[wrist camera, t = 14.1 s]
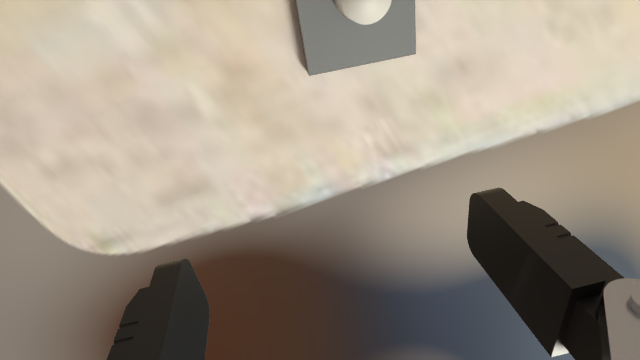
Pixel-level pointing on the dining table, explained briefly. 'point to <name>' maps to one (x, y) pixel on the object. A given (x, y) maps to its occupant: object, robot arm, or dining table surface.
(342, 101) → the dining table surface
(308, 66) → the stub plate
